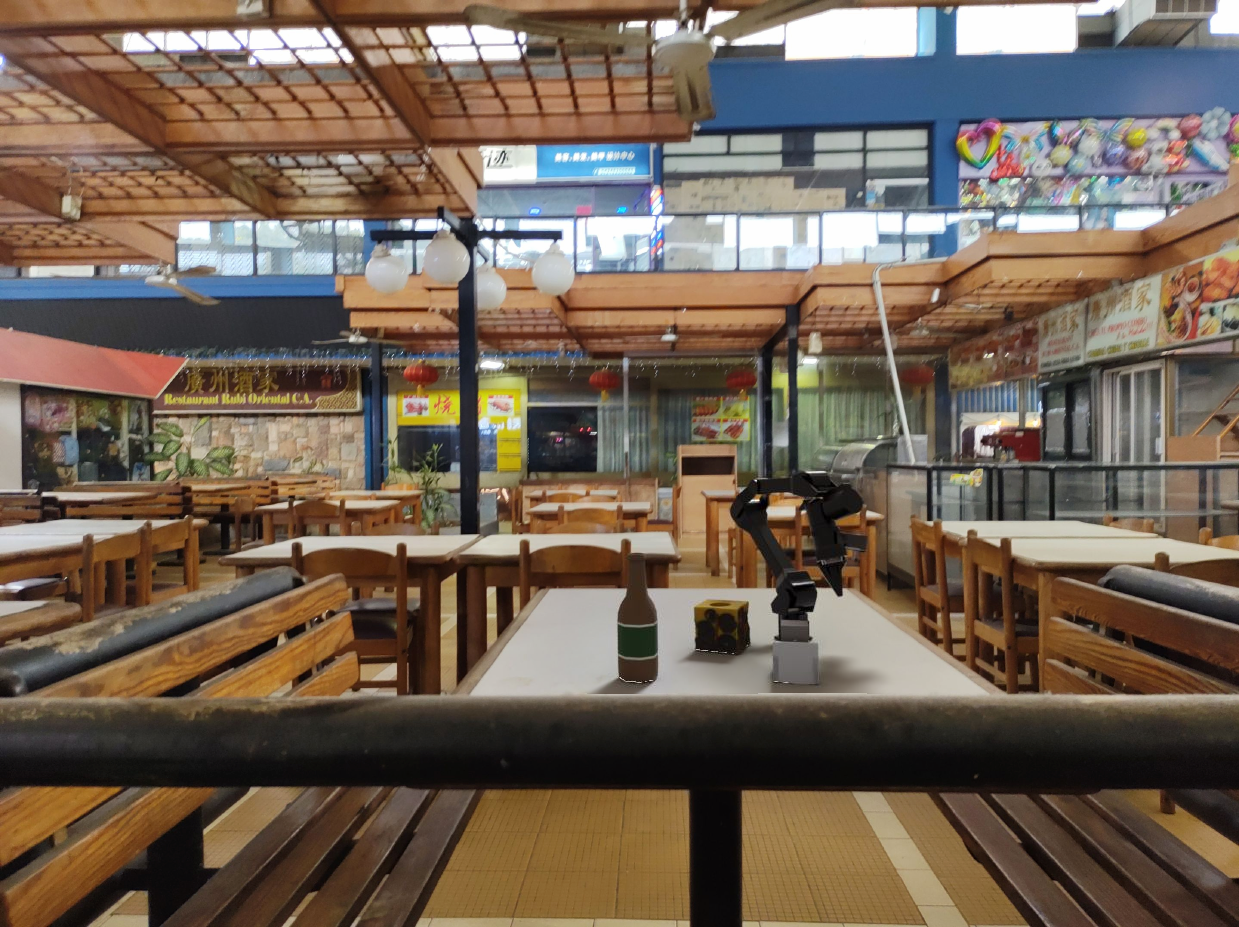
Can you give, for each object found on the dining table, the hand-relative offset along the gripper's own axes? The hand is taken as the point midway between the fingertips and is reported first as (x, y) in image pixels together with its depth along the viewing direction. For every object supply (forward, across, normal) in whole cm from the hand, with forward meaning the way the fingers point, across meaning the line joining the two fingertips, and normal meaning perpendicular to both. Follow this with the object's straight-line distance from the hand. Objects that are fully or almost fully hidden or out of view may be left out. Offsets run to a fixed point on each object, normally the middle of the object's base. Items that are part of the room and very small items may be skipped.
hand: (840, 596), depth 154 cm
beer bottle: (+10, -24, +41) cm, 48 cm away
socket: (+14, -16, +12) cm, 24 cm away
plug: (+14, -16, +12) cm, 24 cm away
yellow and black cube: (+7, +3, +27) cm, 28 cm away
